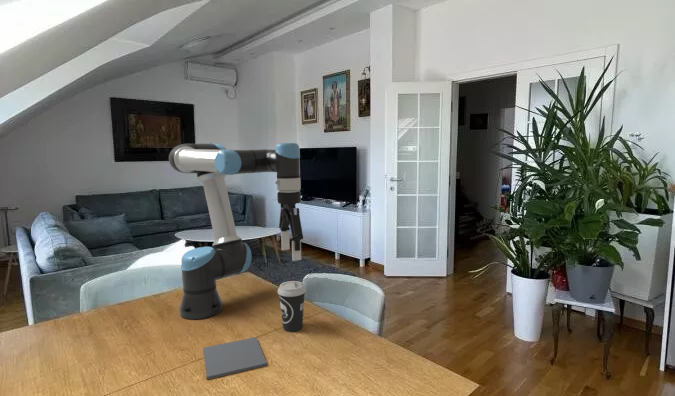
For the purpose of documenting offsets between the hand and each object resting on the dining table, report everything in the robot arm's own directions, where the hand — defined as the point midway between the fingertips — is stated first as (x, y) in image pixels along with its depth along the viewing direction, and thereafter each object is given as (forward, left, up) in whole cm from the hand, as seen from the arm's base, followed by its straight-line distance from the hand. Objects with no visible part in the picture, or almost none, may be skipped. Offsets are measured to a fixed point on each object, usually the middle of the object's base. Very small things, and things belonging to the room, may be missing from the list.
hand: (291, 254), depth 124 cm
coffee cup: (0, 0, -26) cm, 26 cm away
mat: (+11, -21, -26) cm, 35 cm away
